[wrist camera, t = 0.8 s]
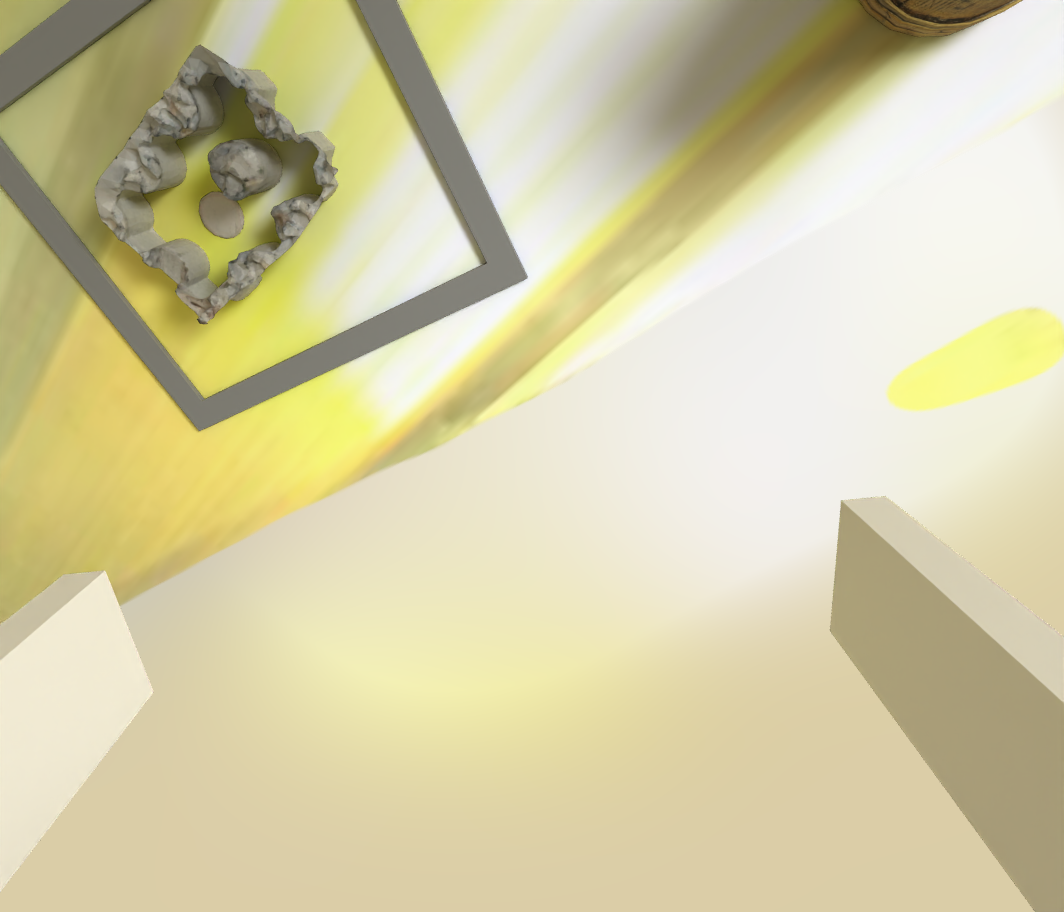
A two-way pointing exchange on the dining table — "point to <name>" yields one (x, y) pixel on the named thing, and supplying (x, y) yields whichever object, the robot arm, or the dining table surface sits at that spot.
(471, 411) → the dining table surface
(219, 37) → the dining table surface
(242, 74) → the egg carton
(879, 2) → the wooden mug
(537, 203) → the dining table surface
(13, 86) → the mat border
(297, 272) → the dining table surface
